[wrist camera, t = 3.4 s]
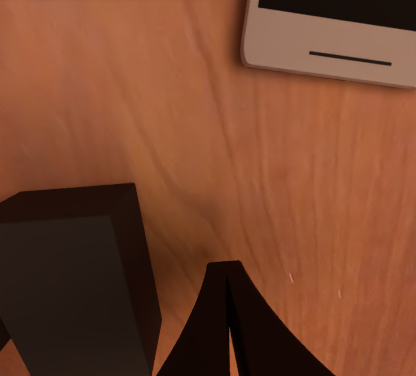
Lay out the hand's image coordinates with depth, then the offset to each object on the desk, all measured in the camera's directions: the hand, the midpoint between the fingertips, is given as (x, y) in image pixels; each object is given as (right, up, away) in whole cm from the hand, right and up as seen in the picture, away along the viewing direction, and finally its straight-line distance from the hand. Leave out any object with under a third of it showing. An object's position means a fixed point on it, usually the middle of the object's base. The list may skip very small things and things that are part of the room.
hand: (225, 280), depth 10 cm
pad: (-6, 0, +2) cm, 6 cm away
